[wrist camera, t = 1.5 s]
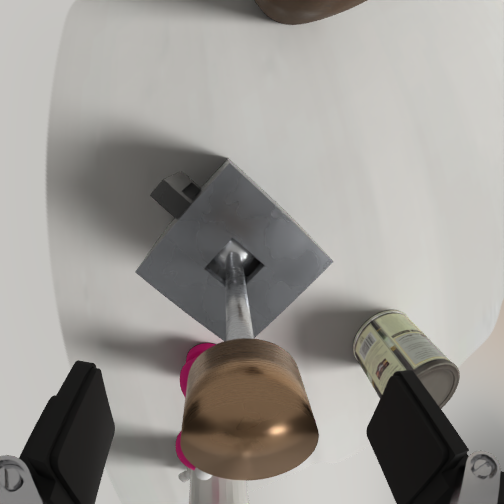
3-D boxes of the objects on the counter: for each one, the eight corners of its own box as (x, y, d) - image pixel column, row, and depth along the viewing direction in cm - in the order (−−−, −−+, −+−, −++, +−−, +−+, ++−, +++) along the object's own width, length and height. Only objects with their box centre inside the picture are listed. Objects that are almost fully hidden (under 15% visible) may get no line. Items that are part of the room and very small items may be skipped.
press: (233, 275, 40) (239, 351, 24) (153, 207, 36) (105, 246, 21) (290, 216, 38) (333, 261, 23) (210, 142, 34) (197, 134, 19)
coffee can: (406, 357, 47) (448, 411, 33) (350, 371, 46) (383, 435, 33) (415, 303, 43) (468, 353, 30) (354, 316, 43) (397, 377, 30)
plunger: (236, 314, 26) (254, 512, 9) (169, 260, 24) (90, 442, 8) (298, 253, 25) (405, 420, 8) (230, 191, 23) (242, 296, 6)
